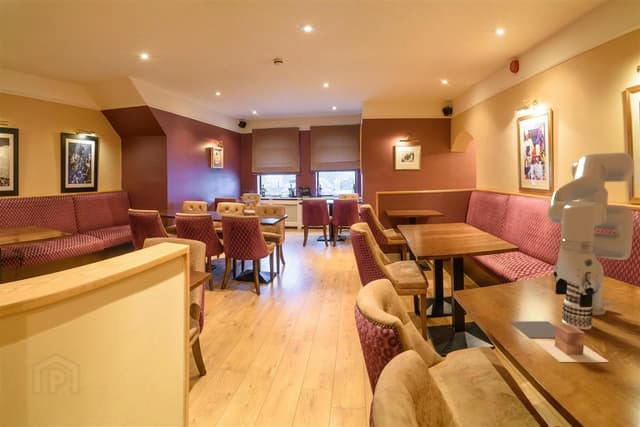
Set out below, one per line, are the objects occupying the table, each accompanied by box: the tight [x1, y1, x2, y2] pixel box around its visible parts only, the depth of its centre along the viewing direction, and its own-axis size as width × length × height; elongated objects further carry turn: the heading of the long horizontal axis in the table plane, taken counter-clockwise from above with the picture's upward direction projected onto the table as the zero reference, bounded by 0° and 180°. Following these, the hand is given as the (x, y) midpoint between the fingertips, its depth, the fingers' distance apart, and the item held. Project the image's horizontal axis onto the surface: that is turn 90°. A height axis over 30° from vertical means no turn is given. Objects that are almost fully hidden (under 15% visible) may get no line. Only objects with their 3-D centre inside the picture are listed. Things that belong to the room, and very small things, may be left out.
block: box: [554, 324, 586, 355], centre depth 98 cm, size 5×5×7 cm
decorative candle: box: [561, 275, 597, 330], centre depth 114 cm, size 9×9×25 cm
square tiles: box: [509, 320, 610, 363], centre depth 105 cm, size 14×26×1 cm, turn 178°
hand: (572, 300), depth 96 cm, fingers open, 9 cm apart
